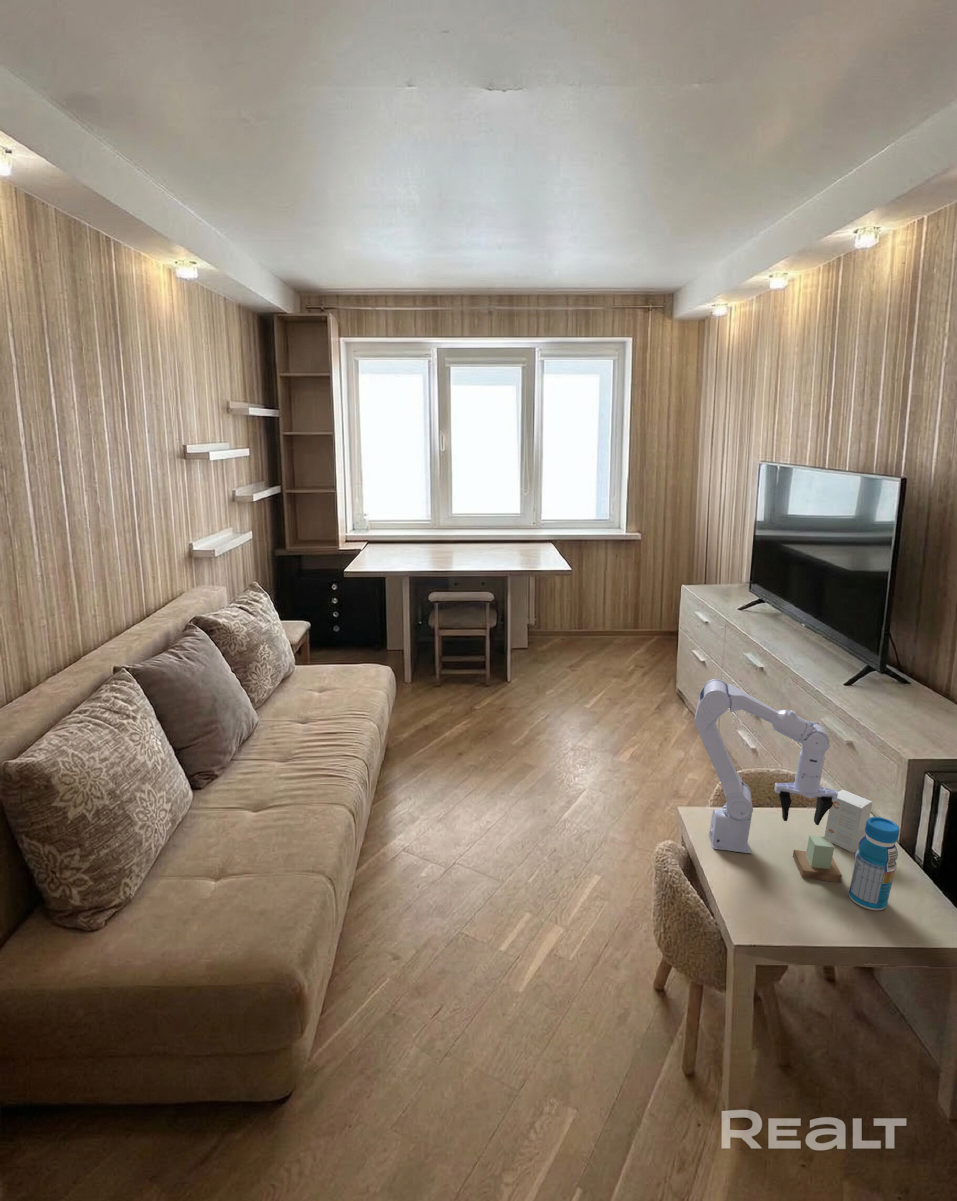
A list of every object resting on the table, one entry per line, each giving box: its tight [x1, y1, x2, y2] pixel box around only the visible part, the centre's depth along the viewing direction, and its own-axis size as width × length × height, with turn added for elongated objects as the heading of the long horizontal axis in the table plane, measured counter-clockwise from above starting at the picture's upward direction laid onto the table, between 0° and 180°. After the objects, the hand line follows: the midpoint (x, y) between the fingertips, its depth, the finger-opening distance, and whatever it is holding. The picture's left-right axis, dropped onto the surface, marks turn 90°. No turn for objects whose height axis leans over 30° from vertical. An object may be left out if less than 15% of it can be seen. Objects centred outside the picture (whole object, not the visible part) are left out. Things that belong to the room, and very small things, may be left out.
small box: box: [823, 789, 873, 853], centre depth 200 cm, size 8×6×13 cm
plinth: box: [792, 849, 843, 883], centre depth 188 cm, size 9×9×2 cm
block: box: [805, 835, 835, 869], centre depth 187 cm, size 4×4×6 cm
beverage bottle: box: [848, 816, 900, 911], centre depth 175 cm, size 8×8×20 cm
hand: (800, 821), depth 191 cm, fingers open, 7 cm apart
